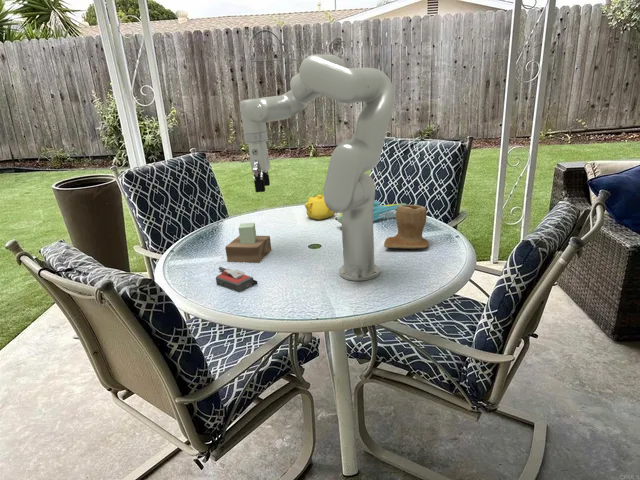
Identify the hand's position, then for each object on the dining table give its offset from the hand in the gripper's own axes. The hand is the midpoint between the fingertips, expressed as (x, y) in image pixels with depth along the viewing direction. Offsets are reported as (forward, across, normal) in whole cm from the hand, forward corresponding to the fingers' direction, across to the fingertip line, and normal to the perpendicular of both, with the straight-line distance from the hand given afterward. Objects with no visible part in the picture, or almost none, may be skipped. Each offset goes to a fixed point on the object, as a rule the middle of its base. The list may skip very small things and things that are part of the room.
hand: (263, 188), depth 152 cm
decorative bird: (+25, +27, -36) cm, 52 cm away
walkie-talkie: (+25, -22, +10) cm, 34 cm away
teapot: (+24, +43, -16) cm, 52 cm away
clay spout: (+25, +1, -48) cm, 55 cm away
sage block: (+18, -1, +7) cm, 20 cm away
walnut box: (+24, -1, +8) cm, 25 cm away
